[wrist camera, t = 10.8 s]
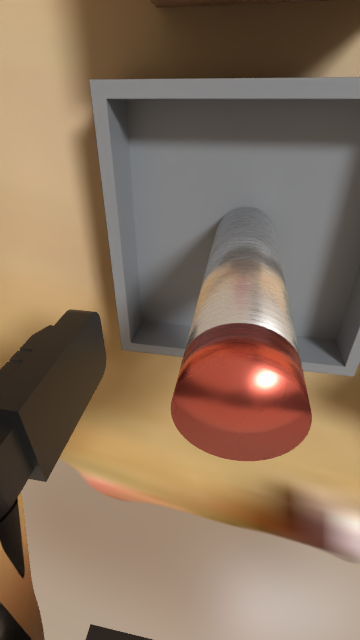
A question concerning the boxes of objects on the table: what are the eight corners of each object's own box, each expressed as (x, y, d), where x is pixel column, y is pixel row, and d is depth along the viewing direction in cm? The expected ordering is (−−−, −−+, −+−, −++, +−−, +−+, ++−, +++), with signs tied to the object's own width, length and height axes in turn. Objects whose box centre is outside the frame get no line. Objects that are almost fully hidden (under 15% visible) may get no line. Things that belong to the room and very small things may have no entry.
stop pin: (217, 205, 16) (169, 357, 7) (279, 208, 16) (327, 375, 6) (213, 261, 18) (171, 450, 8) (269, 265, 18) (296, 470, 8)
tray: (115, 83, 15) (89, 79, 12) (429, 81, 13) (471, 76, 11) (136, 322, 22) (121, 349, 20) (340, 343, 20) (353, 376, 18)
